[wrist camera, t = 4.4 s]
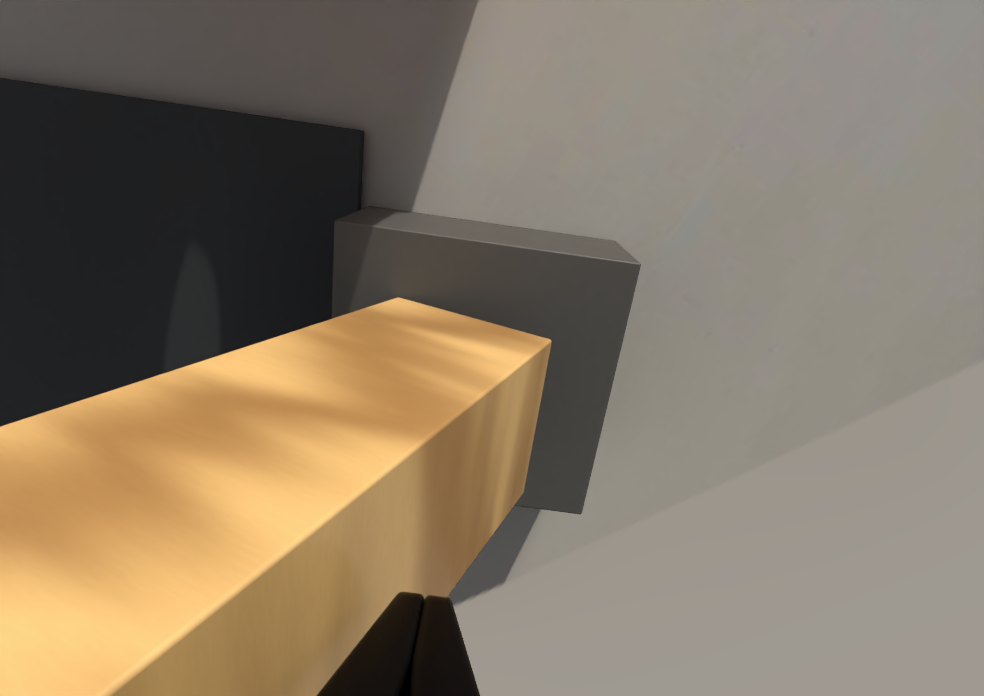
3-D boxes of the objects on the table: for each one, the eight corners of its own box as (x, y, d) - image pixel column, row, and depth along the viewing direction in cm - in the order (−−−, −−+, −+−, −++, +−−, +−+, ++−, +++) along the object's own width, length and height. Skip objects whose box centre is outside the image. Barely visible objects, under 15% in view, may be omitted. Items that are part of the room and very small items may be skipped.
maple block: (553, 339, 14) (-191, 929, 3) (524, 493, 16) (-10, 1226, 5) (398, 296, 16) (-434, 563, 5) (387, 439, 18) (-238, 880, 7)
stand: (616, 241, 19) (641, 263, 15) (569, 453, 22) (581, 515, 19) (368, 205, 19) (333, 219, 15) (357, 425, 22) (326, 481, 18)
